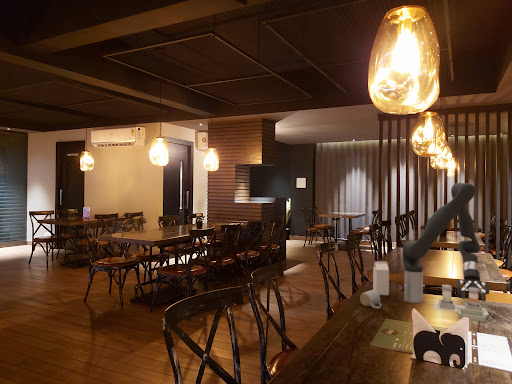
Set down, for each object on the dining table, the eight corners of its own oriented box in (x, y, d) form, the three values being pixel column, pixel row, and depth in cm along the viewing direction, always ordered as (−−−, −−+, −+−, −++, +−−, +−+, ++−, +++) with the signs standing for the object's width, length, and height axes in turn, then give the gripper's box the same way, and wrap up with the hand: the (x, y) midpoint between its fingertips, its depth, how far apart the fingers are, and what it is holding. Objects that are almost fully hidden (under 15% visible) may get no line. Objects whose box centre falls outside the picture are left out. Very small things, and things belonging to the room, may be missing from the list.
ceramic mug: (358, 304, 201) (358, 290, 201) (369, 302, 206) (369, 288, 205) (374, 310, 192) (374, 295, 192) (385, 307, 197) (385, 293, 196)
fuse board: (434, 310, 191) (434, 303, 191) (433, 303, 202) (433, 297, 202) (489, 317, 182) (489, 310, 182) (485, 309, 193) (485, 303, 193)
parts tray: (459, 320, 177) (459, 314, 177) (457, 314, 186) (457, 308, 186) (486, 324, 173) (486, 317, 173) (483, 317, 182) (483, 310, 181)
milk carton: (388, 295, 218) (389, 262, 218) (376, 295, 218) (376, 262, 218) (385, 291, 225) (385, 260, 225) (373, 291, 226) (373, 260, 225)
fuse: (442, 307, 193) (442, 286, 193) (441, 305, 197) (441, 284, 197) (451, 308, 192) (452, 287, 191) (451, 306, 196) (451, 285, 195)
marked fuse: (468, 310, 188) (469, 288, 188) (467, 308, 192) (468, 286, 192) (479, 311, 187) (479, 289, 186) (477, 309, 191) (478, 287, 190)
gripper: (456, 266, 199) (458, 294, 189) (487, 269, 193) (491, 297, 183) (455, 274, 204) (457, 301, 194) (486, 277, 198) (489, 305, 188)
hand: (473, 299), depth 188 cm, fingers open, 8 cm apart
